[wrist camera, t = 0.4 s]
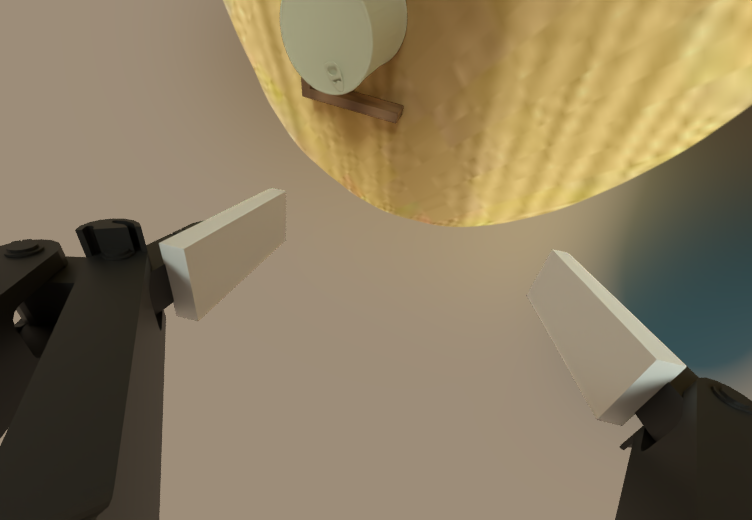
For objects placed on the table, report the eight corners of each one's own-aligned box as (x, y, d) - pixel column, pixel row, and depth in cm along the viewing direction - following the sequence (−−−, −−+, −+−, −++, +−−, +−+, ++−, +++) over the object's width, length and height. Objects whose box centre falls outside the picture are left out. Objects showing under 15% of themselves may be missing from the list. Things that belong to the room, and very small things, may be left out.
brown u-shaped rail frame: (312, 89, 40) (302, 96, 38) (302, -129, 25) (285, -135, 24) (401, 114, 38) (395, 123, 36) (443, -103, 24) (437, -107, 22)
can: (348, 74, 37) (304, 105, 29) (320, -21, 31) (256, -11, 23) (414, 55, 33) (383, 86, 25) (397, -57, 27) (350, -60, 19)
